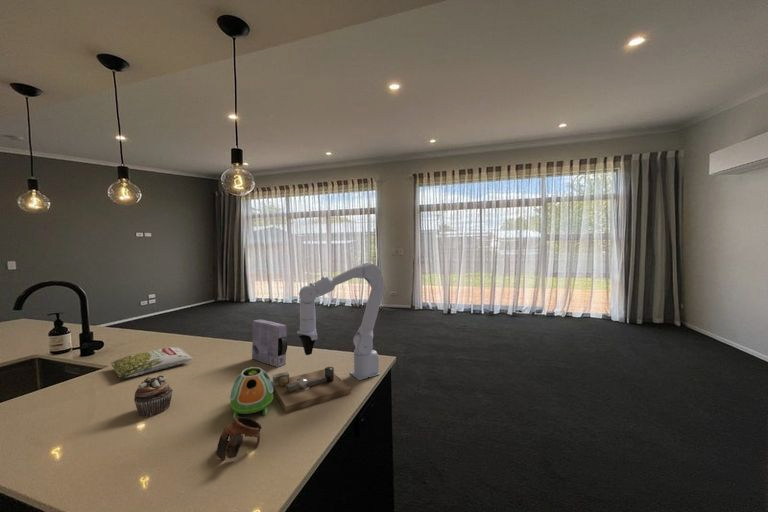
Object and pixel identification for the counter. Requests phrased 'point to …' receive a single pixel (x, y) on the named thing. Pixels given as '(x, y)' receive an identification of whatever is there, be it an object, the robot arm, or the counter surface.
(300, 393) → the board
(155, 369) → the frozen beans
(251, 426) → the brown curved open piece
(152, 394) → the cupcake
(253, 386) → the turtle holder
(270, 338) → the cake pan box
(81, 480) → the counter surface
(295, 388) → the lever
